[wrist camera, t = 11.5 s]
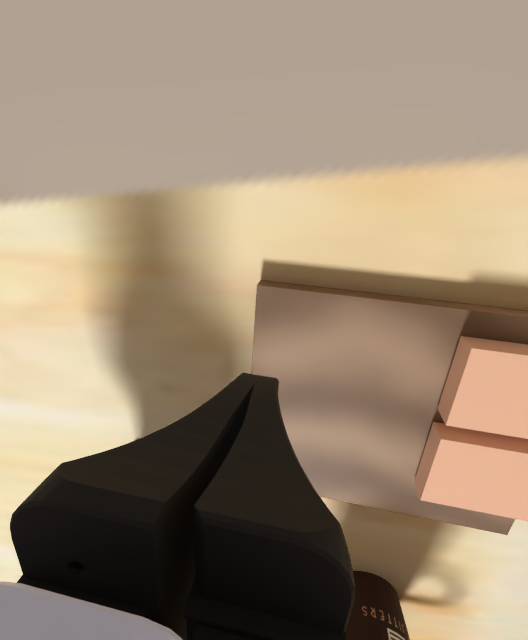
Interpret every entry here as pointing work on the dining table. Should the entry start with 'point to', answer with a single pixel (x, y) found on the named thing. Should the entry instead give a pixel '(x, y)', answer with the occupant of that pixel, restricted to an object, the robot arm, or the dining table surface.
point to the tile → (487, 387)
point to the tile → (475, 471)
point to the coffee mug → (375, 610)
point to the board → (369, 386)
